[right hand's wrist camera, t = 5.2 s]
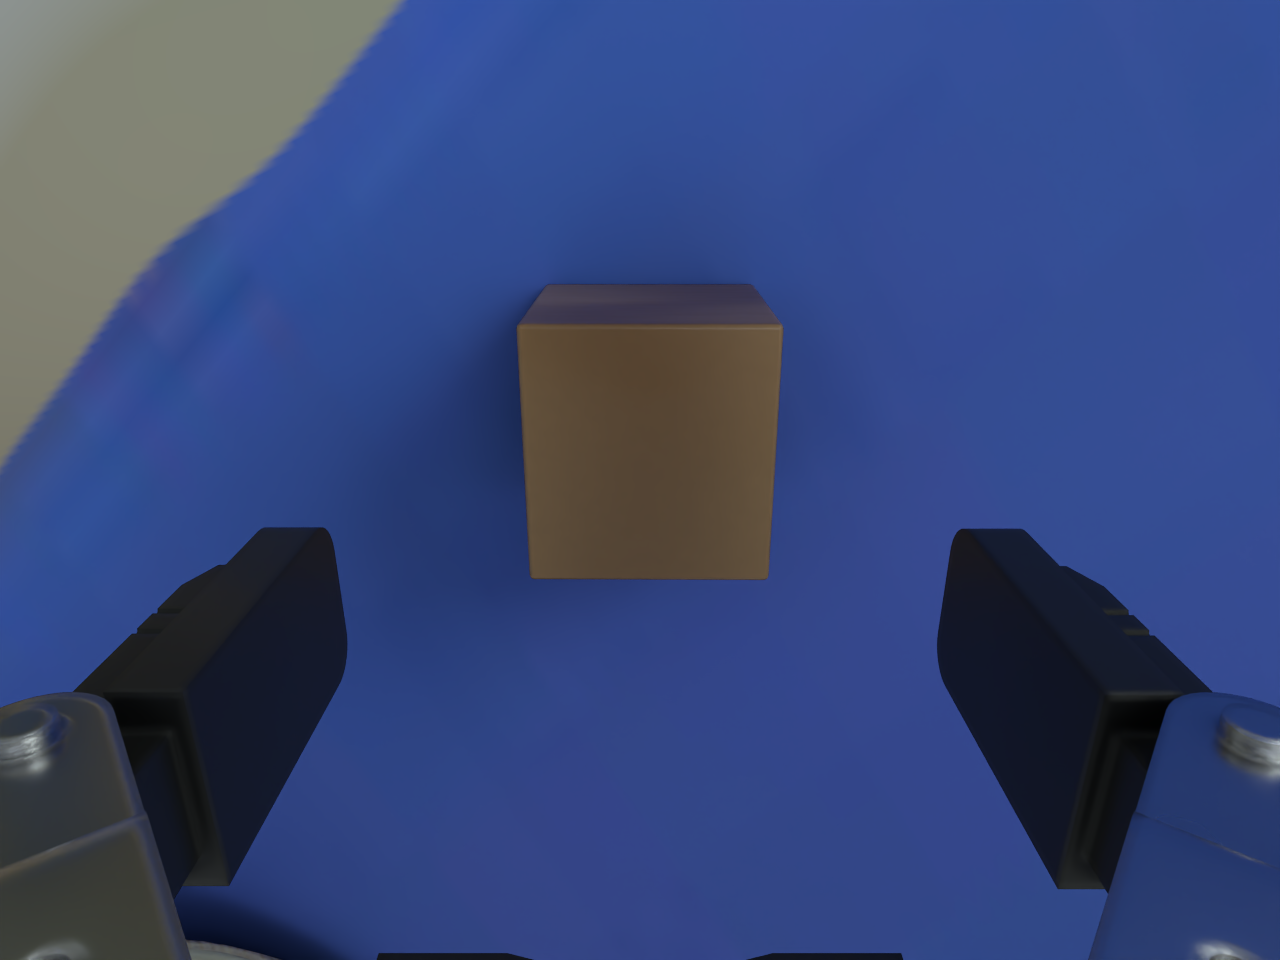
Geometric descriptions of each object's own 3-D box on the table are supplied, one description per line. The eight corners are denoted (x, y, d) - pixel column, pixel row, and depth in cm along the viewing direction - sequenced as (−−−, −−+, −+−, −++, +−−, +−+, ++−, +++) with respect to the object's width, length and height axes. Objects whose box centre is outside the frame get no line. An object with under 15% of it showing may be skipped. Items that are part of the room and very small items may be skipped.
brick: (753, 283, 20) (784, 324, 15) (744, 491, 22) (768, 581, 17) (545, 283, 20) (515, 324, 15) (553, 491, 22) (529, 580, 17)
